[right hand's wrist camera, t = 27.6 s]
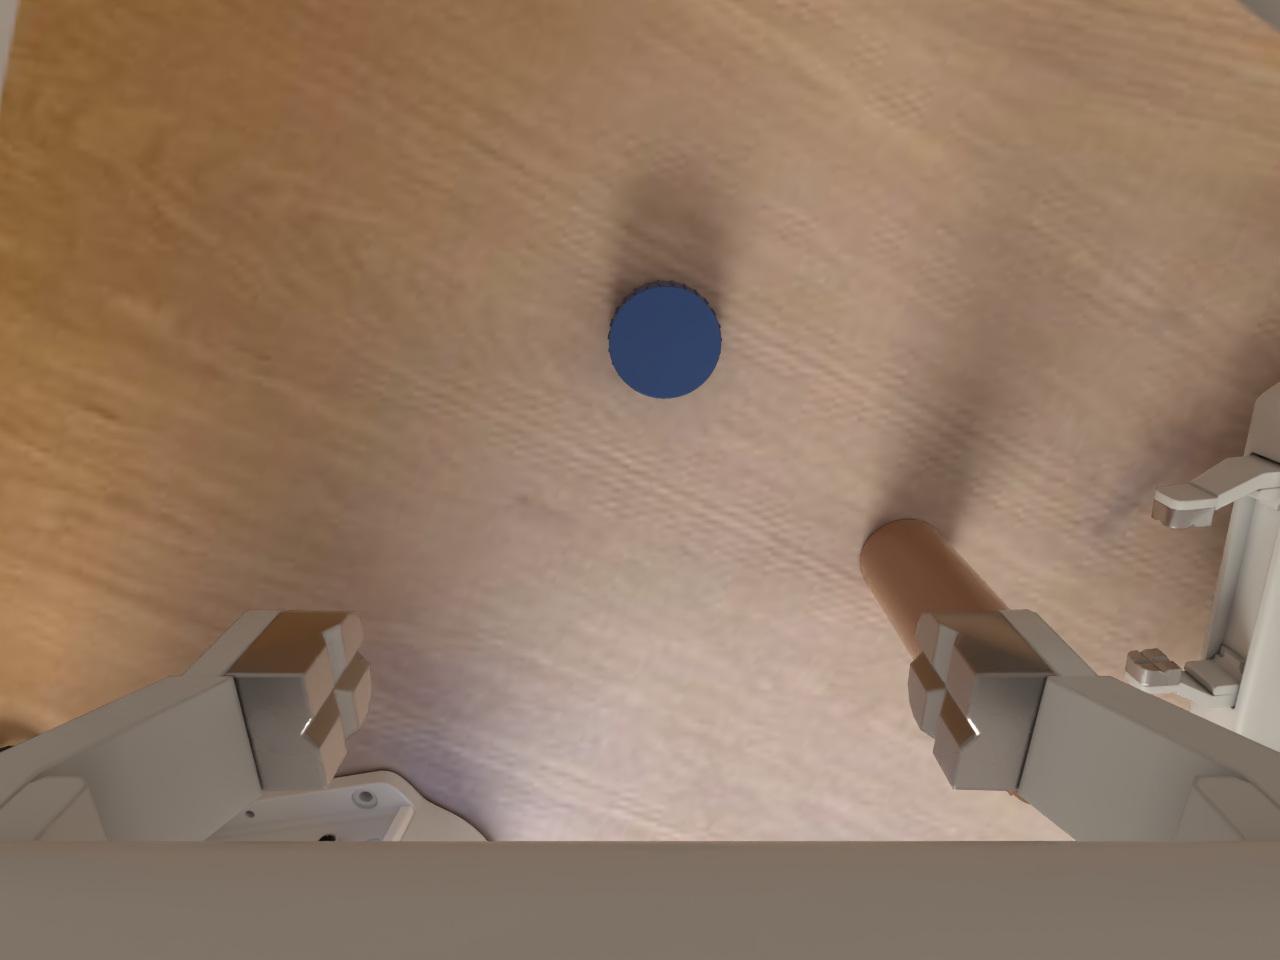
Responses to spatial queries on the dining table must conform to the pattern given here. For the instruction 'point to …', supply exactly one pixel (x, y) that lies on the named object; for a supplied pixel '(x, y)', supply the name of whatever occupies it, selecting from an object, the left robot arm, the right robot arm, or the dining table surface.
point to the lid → (664, 340)
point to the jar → (921, 579)
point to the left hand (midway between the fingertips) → (1146, 594)
